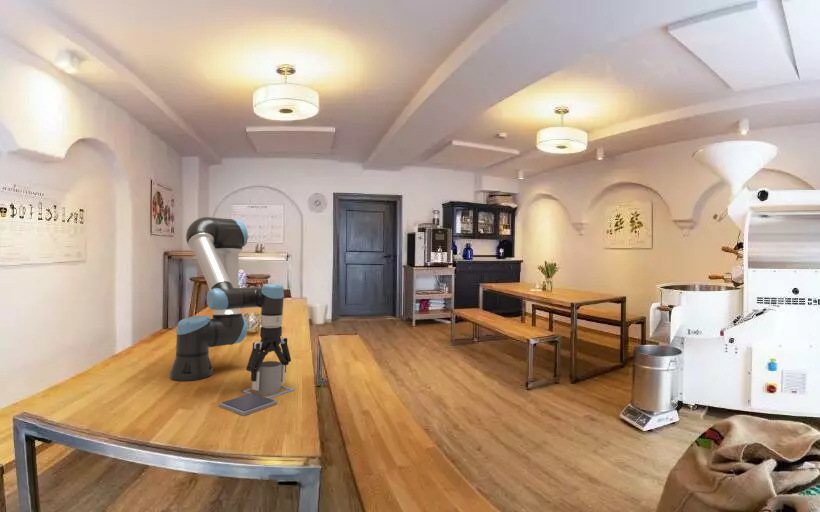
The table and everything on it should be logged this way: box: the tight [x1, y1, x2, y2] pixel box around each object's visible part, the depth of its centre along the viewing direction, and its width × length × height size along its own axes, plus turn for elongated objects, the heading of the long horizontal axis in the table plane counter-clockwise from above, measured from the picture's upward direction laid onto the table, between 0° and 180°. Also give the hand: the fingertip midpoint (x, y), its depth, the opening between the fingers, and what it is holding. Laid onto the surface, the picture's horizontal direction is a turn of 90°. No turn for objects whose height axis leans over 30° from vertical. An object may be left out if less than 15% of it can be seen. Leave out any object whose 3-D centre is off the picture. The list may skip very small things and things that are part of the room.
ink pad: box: [218, 392, 278, 417], centre depth 135 cm, size 13×13×1 cm
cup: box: [255, 360, 282, 396], centre depth 149 cm, size 8×8×10 cm
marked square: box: [241, 385, 295, 399], centre depth 149 cm, size 13×13×1 cm
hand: (268, 385), depth 149 cm, fingers open, 11 cm apart
